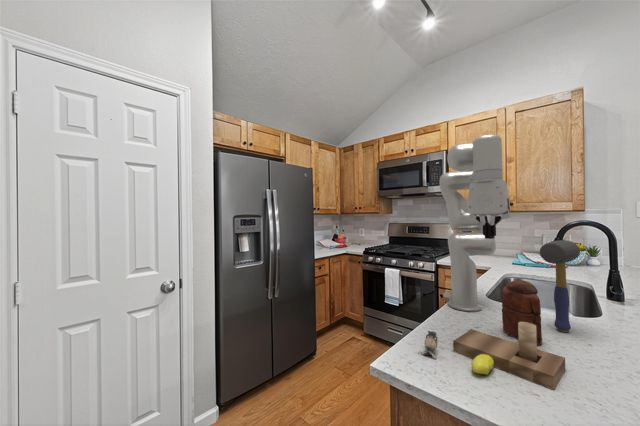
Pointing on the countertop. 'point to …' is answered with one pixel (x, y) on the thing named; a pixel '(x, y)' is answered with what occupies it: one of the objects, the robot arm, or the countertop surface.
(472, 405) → the countertop surface
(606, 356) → the countertop surface
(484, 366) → the lemon
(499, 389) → the countertop surface
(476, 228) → the robot arm
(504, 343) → the board
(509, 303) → the wooden figurine
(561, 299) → the rubber mallet
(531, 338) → the dowel
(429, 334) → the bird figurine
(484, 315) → the countertop surface
